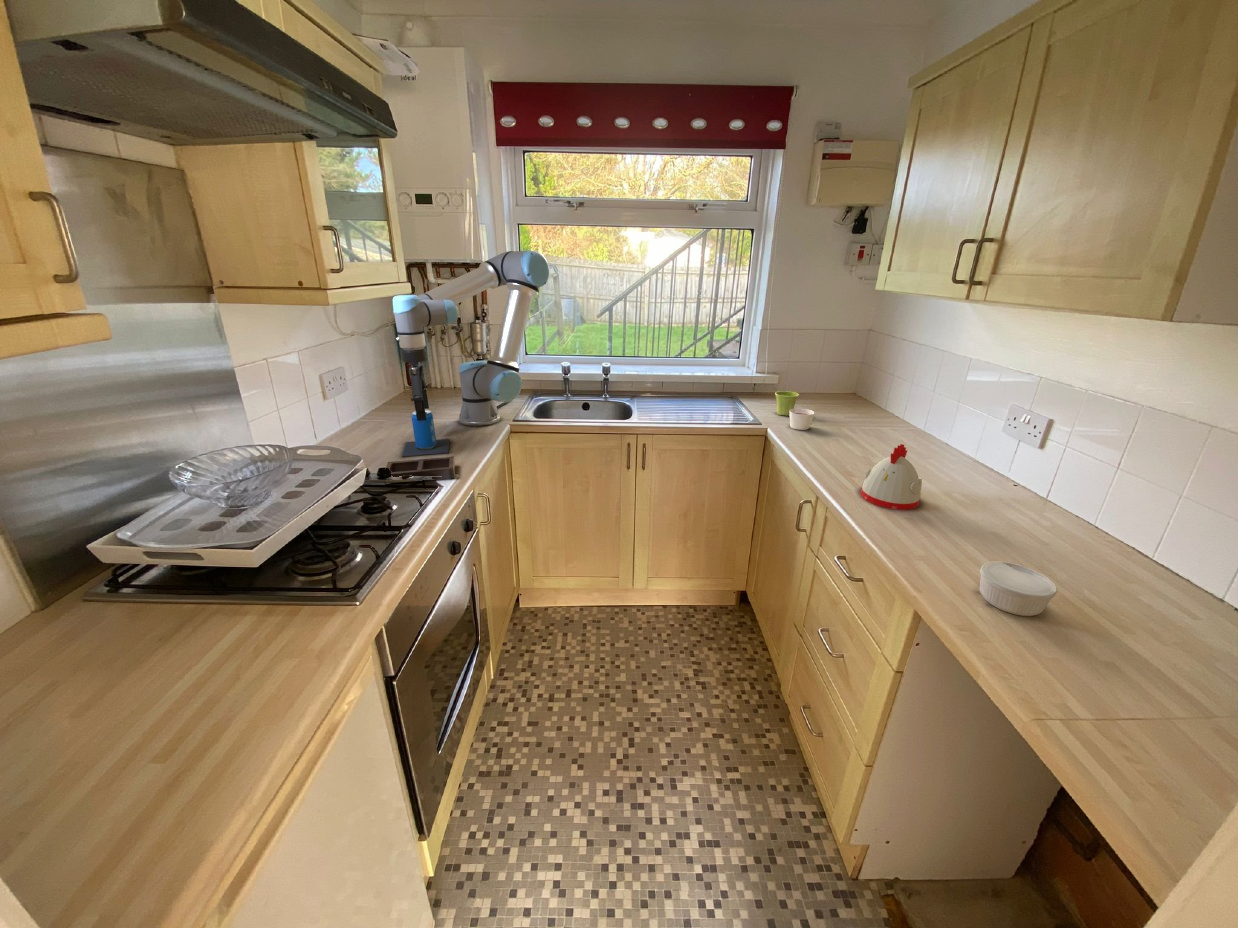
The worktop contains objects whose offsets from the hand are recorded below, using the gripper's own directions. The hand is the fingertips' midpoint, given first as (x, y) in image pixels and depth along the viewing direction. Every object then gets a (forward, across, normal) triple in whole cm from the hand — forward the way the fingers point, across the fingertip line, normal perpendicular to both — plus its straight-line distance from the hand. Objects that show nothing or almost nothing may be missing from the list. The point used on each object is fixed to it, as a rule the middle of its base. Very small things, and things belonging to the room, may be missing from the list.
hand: (423, 414), depth 165 cm
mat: (+12, 0, 0) cm, 12 cm away
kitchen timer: (+13, +72, +120) cm, 141 cm away
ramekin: (+12, +115, +108) cm, 159 cm away
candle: (+14, +11, +134) cm, 136 cm away
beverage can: (+11, 0, -1) cm, 11 cm away
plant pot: (+14, -7, +140) cm, 140 cm away
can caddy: (+11, +24, 0) cm, 27 cm away
